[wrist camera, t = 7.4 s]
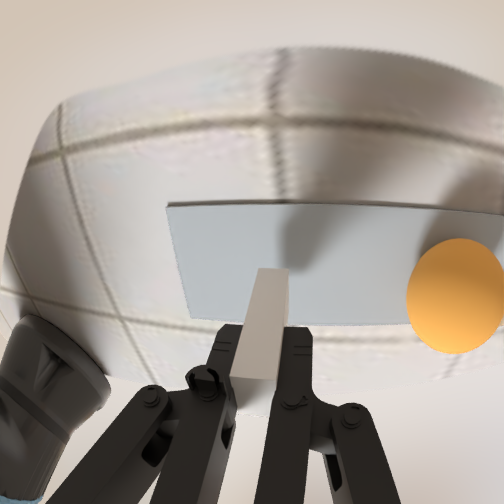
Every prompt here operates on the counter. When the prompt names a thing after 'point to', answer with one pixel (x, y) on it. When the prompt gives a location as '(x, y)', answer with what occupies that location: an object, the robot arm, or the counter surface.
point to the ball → (456, 296)
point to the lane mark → (315, 256)
